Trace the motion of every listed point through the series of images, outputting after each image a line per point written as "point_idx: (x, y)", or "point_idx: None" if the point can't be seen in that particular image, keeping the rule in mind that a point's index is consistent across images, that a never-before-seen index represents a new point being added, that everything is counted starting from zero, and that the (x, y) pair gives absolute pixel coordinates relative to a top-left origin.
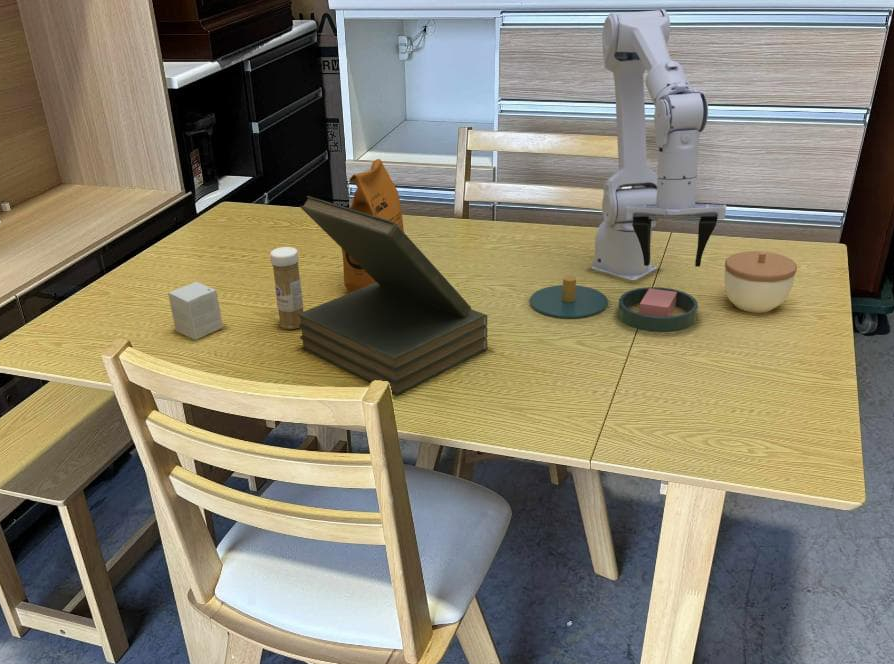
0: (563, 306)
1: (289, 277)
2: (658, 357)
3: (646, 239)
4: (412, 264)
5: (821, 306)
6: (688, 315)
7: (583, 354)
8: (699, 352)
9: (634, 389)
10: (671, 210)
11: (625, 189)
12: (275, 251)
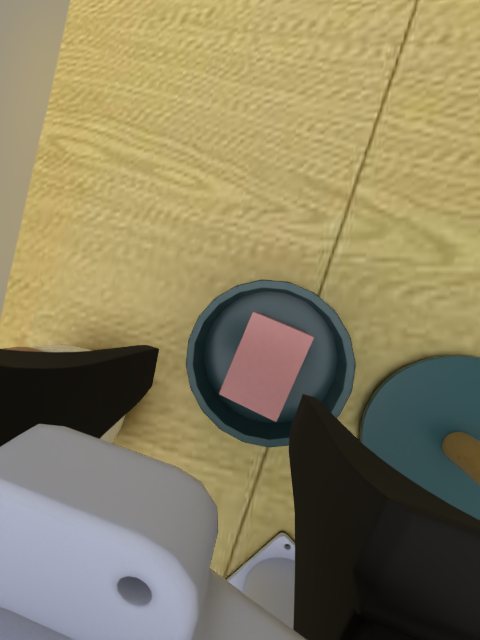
0: (477, 411)
1: None
2: (293, 194)
3: (345, 450)
4: None
5: None
6: (215, 299)
7: (445, 199)
8: (218, 217)
9: (361, 61)
10: (92, 563)
11: None
12: None
